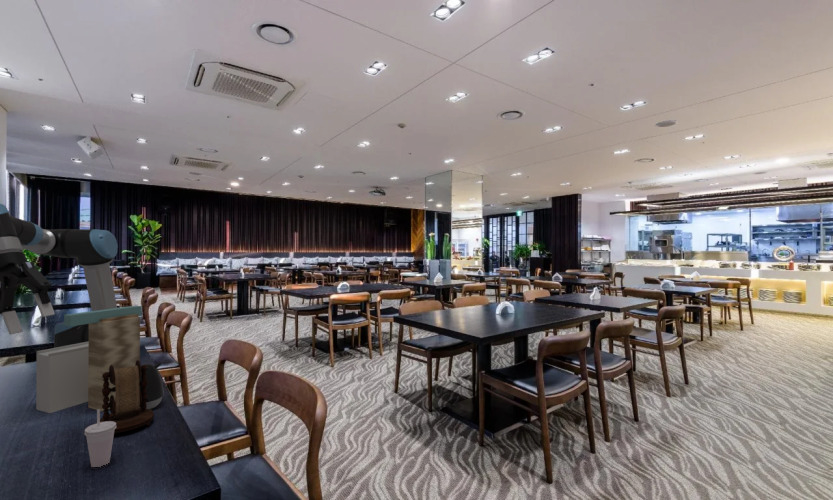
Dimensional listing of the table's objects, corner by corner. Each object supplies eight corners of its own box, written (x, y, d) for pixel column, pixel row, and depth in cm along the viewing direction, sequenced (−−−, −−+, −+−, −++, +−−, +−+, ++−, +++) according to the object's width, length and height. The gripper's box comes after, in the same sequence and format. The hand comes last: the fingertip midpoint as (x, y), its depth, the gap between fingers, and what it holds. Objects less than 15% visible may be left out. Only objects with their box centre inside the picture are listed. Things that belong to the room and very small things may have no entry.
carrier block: (49, 413, 129) (49, 354, 128) (36, 409, 132) (36, 351, 132) (103, 396, 143) (104, 343, 143) (90, 393, 146) (91, 340, 146)
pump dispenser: (171, 404, 137) (171, 361, 137) (141, 416, 127) (142, 370, 127) (150, 400, 141) (150, 358, 141) (120, 411, 131) (120, 366, 131)
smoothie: (96, 457, 102) (96, 404, 102) (122, 456, 103) (122, 404, 103) (77, 471, 96) (77, 415, 96) (104, 470, 97) (105, 414, 96)
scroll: (100, 443, 109) (100, 373, 109) (89, 427, 119) (89, 362, 119) (160, 426, 121) (160, 362, 121) (146, 412, 130) (146, 353, 130)
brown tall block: (102, 411, 131) (102, 319, 130) (88, 407, 134) (88, 317, 133) (139, 398, 142) (140, 314, 141) (125, 395, 145) (126, 312, 145)
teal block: (70, 326, 124) (70, 315, 124) (64, 325, 125) (64, 314, 125) (141, 315, 144) (141, 306, 144) (135, 314, 146) (135, 305, 146)
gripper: (-40, 274, 109) (-14, 343, 108) (18, 237, 104) (46, 310, 103) (-6, 271, 117) (19, 336, 116) (50, 237, 111) (77, 305, 110)
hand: (32, 324), depth 109 cm, fingers open, 13 cm apart
